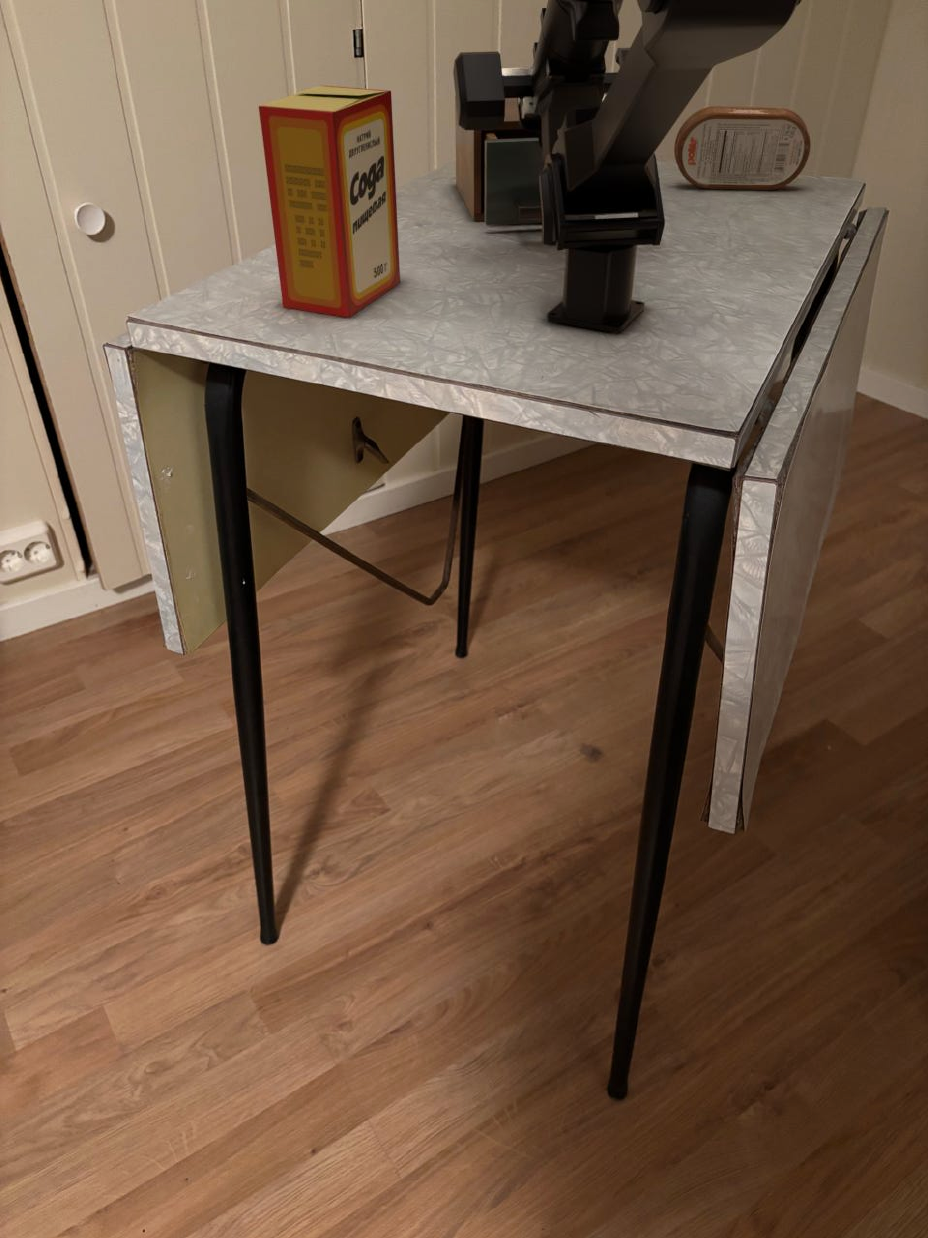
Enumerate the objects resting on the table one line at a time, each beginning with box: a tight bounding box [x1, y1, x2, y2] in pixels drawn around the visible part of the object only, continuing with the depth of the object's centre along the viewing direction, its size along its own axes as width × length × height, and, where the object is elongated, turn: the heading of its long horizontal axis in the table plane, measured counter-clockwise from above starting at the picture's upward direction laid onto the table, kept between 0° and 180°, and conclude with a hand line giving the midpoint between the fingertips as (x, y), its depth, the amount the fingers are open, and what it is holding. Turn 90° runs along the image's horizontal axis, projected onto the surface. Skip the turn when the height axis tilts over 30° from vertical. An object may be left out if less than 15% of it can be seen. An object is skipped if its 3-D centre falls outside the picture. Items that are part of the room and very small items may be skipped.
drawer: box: [481, 129, 596, 226], centre depth 102 cm, size 18×11×8 cm, turn 8°
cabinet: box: [454, 95, 523, 222], centre depth 108 cm, size 15×13×10 cm
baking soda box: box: [258, 85, 401, 319], centre depth 82 cm, size 10×6×16 cm
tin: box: [673, 105, 812, 191], centre depth 112 cm, size 15×3×8 cm, turn 84°
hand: (544, 143), depth 96 cm, fingers closed, pressing on drawer
